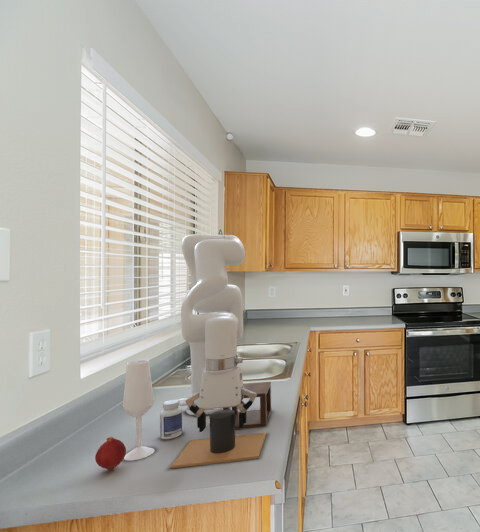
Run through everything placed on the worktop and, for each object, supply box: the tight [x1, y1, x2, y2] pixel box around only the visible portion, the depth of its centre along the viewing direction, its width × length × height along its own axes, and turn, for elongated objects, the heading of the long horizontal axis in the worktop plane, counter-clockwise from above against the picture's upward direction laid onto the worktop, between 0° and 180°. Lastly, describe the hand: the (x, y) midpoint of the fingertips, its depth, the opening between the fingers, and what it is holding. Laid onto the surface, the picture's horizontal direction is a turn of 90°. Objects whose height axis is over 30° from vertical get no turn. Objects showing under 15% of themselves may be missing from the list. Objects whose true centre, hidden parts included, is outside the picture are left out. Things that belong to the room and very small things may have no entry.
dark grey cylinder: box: [209, 409, 236, 453], centre depth 98 cm, size 6×6×9 cm
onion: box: [94, 436, 127, 471], centre depth 90 cm, size 6×6×8 cm
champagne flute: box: [122, 359, 155, 462], centre depth 97 cm, size 7×7×24 cm
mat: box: [170, 432, 268, 469], centre depth 98 cm, size 20×14×1 cm
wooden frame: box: [223, 381, 272, 430], centre depth 118 cm, size 12×12×10 cm
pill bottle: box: [159, 399, 183, 440], centre depth 108 cm, size 5×5×10 cm
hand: (222, 428), depth 99 cm, fingers open, 9 cm apart
